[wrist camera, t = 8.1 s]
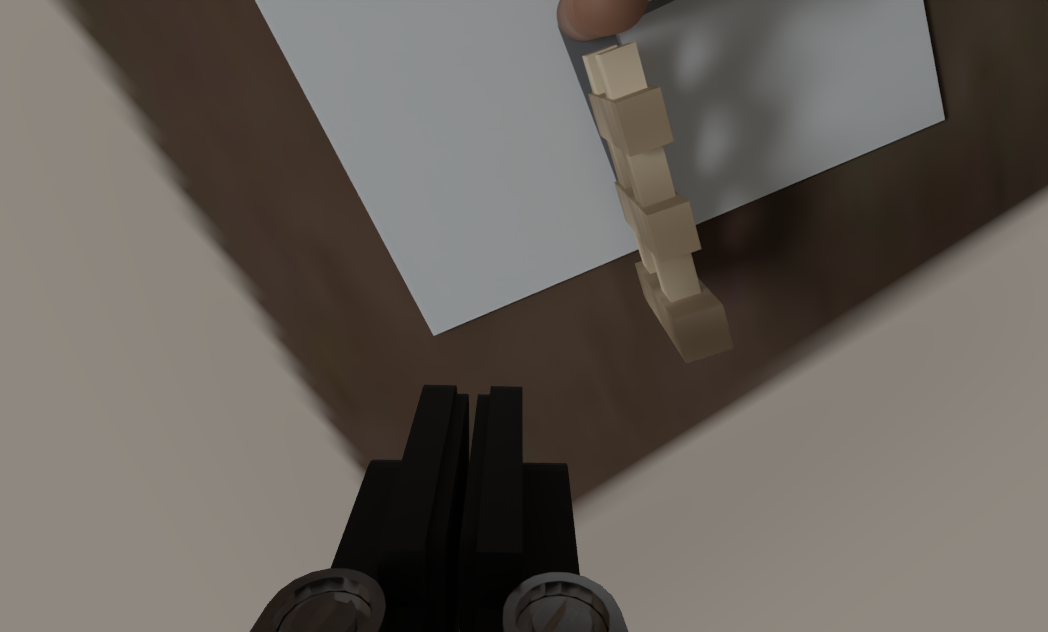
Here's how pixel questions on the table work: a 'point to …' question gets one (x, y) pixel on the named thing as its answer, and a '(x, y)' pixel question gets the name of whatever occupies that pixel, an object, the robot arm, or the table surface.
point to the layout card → (584, 121)
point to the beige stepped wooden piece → (647, 177)
